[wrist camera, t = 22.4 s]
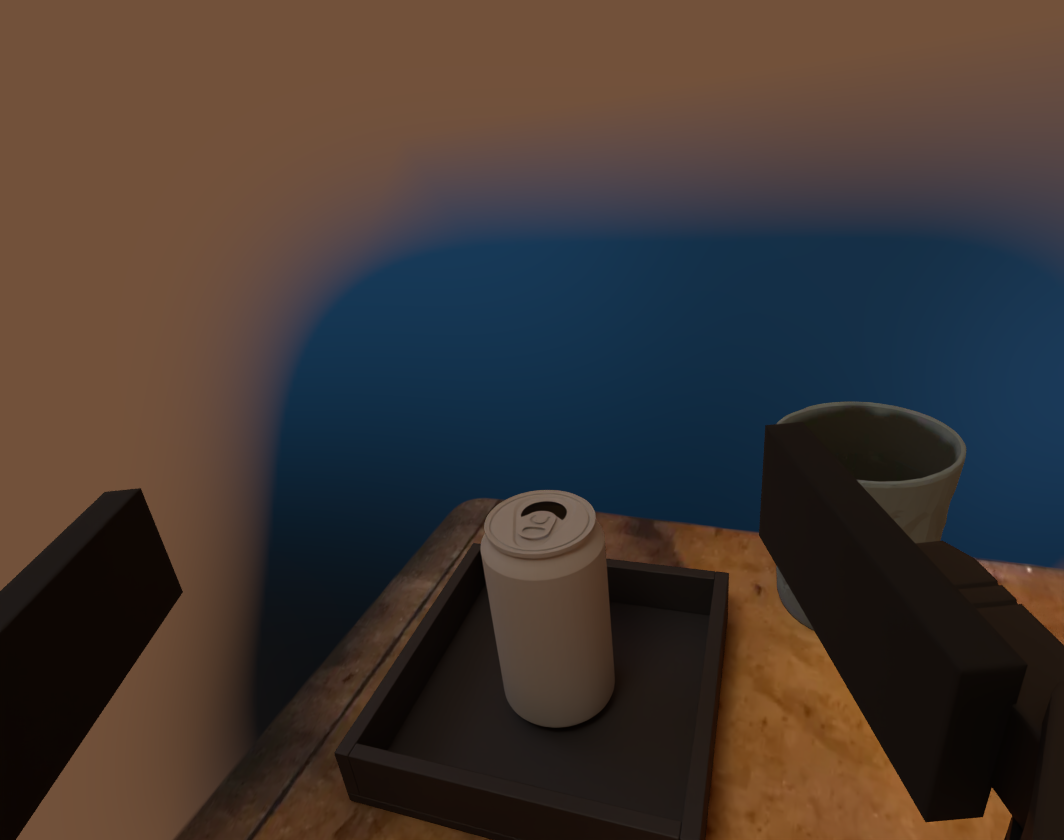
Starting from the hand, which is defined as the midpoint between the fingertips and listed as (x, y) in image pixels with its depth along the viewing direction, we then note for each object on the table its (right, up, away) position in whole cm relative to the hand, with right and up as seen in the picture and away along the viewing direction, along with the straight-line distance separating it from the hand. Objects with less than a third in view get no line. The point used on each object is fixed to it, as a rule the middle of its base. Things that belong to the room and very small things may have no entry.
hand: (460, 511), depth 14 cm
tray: (+3, -14, +25) cm, 29 cm away
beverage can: (+3, -14, +25) cm, 28 cm away
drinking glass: (+22, -10, +30) cm, 38 cm away
